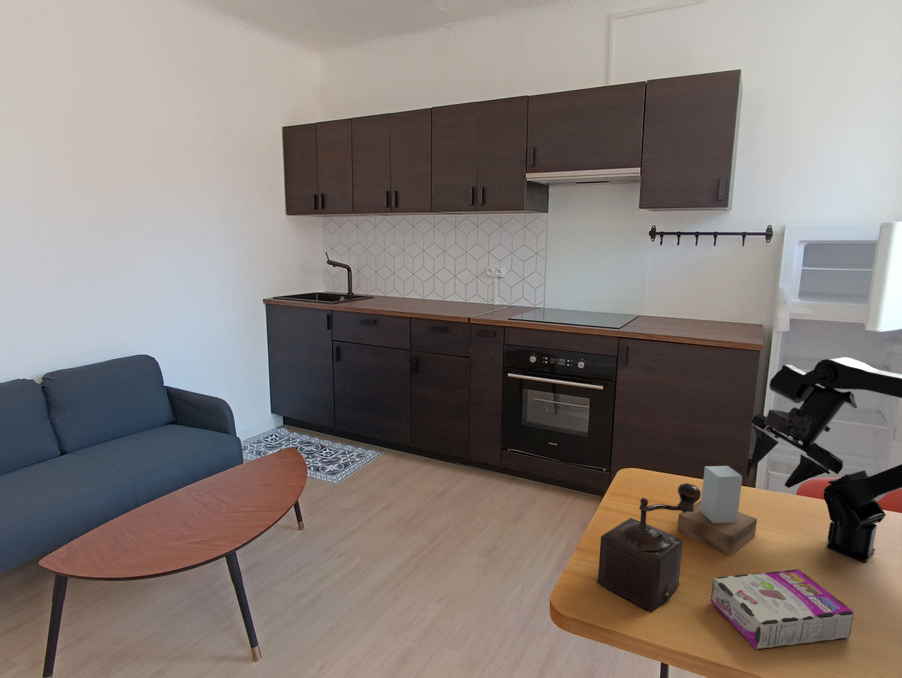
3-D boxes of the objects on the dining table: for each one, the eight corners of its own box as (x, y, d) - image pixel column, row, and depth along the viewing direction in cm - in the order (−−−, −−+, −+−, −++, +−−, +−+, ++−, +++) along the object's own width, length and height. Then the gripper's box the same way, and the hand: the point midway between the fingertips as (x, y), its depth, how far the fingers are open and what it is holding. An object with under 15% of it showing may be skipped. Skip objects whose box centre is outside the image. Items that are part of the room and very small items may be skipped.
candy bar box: (795, 594, 94) (708, 601, 91) (799, 568, 93) (712, 575, 90) (851, 641, 83) (754, 651, 80) (856, 612, 82) (759, 621, 80)
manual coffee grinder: (654, 616, 88) (663, 514, 84) (595, 583, 96) (602, 489, 93) (696, 577, 98) (706, 485, 95) (640, 551, 106) (648, 465, 103)
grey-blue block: (722, 510, 114) (727, 465, 113) (736, 522, 110) (742, 476, 108) (700, 510, 114) (704, 466, 112) (713, 523, 109) (718, 476, 107)
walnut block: (754, 536, 112) (757, 518, 111) (731, 555, 105) (733, 536, 104) (702, 515, 120) (704, 498, 119) (677, 531, 113) (678, 514, 112)
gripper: (756, 380, 117) (713, 438, 119) (832, 416, 99) (780, 484, 101) (788, 402, 120) (745, 458, 122) (866, 440, 103) (815, 505, 105)
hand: (768, 474), depth 113 cm, fingers open, 9 cm apart
